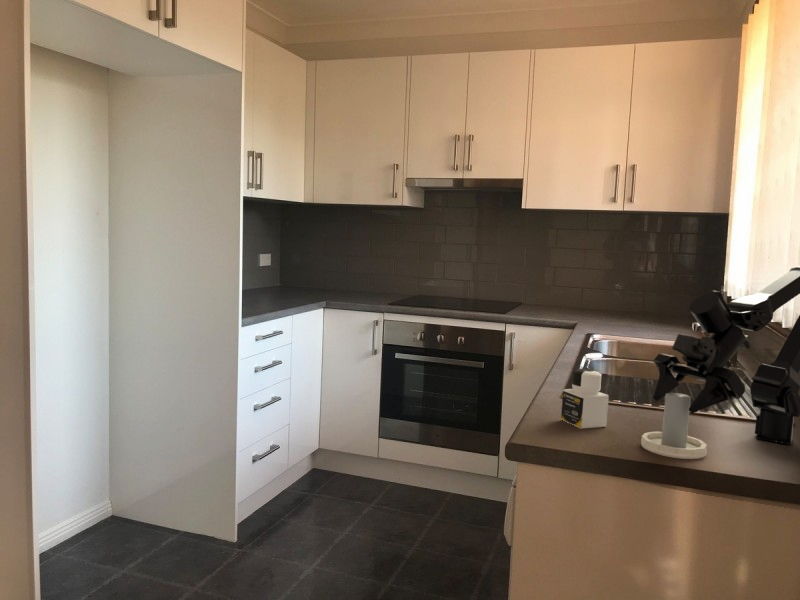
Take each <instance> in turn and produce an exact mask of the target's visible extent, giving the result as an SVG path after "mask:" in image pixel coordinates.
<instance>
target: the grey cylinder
mask: <svg viewBox="0 0 800 600" xmlns="http://www.w3.org/2000/svg"><path fill="white" fill-rule="evenodd" d="M691 399H692V397H691V396H690V395H688V394H684V393H678V392H670V393H666V395H665V396H664V408H663V420H662V428H661V429H662V431H661V432H662V440H661V444H662V445H666V446H671V447H676V448H686V444H687V436H688V430H689V423H690V422H689V420H690V411H689V408H690V406H691V401H692V400H691Z"/></svg>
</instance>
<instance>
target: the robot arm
mask: <svg viewBox="0 0 800 600" xmlns="http://www.w3.org/2000/svg"><path fill="white" fill-rule="evenodd" d="M798 295H800V265H797V266H793V267H791V268H790V269H789V271H788V272H787V273H786V274H784V275H783V276H781V277H779V278H778V279H776V280H775V281H773V282H772V283H771V284H768V285H767V286H765V287H764V288H763V289H761V290H760V291H758V292H757V293H754V294H750V295H745V296H741V297H739V298H736V299H733V300H731V301H730V302H728V303H726V300H725V299H724V296H723V294H722V292H721V291H719V290H718V291H717V290H710V292H709V293H707V294H703V295H701V296H699V297H697V298H696V299H693V301H691V303H690V305H689V311H690V313H691V314H692V316H693V317H694V319H695V320H696V322H697V323H698V325H699V326H700V328H701V330H702V331H703V332H704V333H707V334H710V335H709V336H708V337H707V336H702V337H701V338H698V337H694V336H692V335H691V336H690V335H688V334H687V335H685V334H681V333H678V334H677V336H676V337H675V341H674V343H673V345H672V347H671V349H672V350H674V351H676V352H678V353H680V354H681V355H683V356H682V357H681V359H682V360H683V361H684V362H686V365H685V364H682V363H681V361H679V359H678V358H677V356H676V355H670V354H667V353H658V354H657V355H656V357H655V358H654V359H653V363H654V364H655V367H656V369H657V370H658V373H659V375H658V380H657V384H656V387H655V389H654V393H653V395H652V400H653V401H654V402H659V401H661V400H662V399H663V398H665V395H666V393H672V391H674V390H675V389H676V388H677V387H679V386H680V382H682V381H683V380H684V379H685V378H686V377H689V378H693V379H697V380H698V381H702V382H705V383H704V386H703V388H702V390H701V391H700V392H699V393H698V394H697V396H696V397H695V399H694V400H693V401H692V403H690V408H689V414H690V413H691V414H695V413H697V412H700V411H702V410H704V409H706V408H710V407H711V406H714V405H717V404H720V403H723V402H727V401H729V402H731V401H732V400H733V399H734V400H740V399H741V397H742V396H743V395H744V394H745V393H746V392H745V391H746V386H745V384H744V382H743V380H741V378H740V376H739V375H738V373H737V372H736V370H735V369H731V366H732V363H731V362H730V360H731V359H732V357H733V356H734V355H735V354H736V352H737V351H738V350H739V349H745V350H750V349H751V342H750V336H749V335H747V334H746V335H745V333H744V331H743V330H746V331H751V332H760V331H762V330H763V329H764V328H766V327H767V325H769V324H770V323H771V322H772V320H773V318H774V313H775V312H776V311H777V310H778V309H780V308H782V306H784V305H786V304H787V303H788V302H790V301H791V300H793V299H794V298H796V297H797V296H798ZM799 373H800V314H799V315H798V317H797V319H796V321H795V322H794V324H793V327H792V328H791V329H790V331H789V333H788V335H787V337H786V339H785V341H784V342H783V344H782V347H781V349H779V352H778V354H777V356H776V357H775V359H774V361H773V362H771V363H770V364H765V363H761V364H760V365H759V366H758V368H757V369H756V373H755V374H754V376H752V378H751V381H752V382H751V383H750V386H749V391H750V397H751V404H752V407H753V408H759V410H760V411H759V413H757V415H756V418H755V427H754V434H755V435H756V436H755V439H757V438H758V439H757V440H761V439H764V440H763V441H767V440H770V441H769V442H772V441H777V442H783V443H788V444H791V445H792V443H793V439H794V437H793V430H794V419H795V418H800V395H799V391H800V375H799ZM792 438H793V439H792ZM777 442H776V443H777ZM791 442H792V443H791ZM783 443H782V444H783ZM788 444H787V445H788Z"/></svg>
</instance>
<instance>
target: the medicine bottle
mask: <svg viewBox="0 0 800 600" xmlns="http://www.w3.org/2000/svg"><path fill="white" fill-rule="evenodd" d="M602 376H603V375H602V374H601V372H599V371H598V370H594V369H588V368H578V369H575V370H574V371H573V372H572V383H571V384H572V385H571V388H565V389H563V390H562V400H561V401H562V403H561V412H560V414H561V415H560V421H562V420H563V421H562V422H564V421H565V422H564V423H566V422H567V424H569V423H570V424H569V425H571V424H572V425H571V426H573V425H574V427H575V428H578V429H594V428H603V427H604V428H605V427H607V420H608V409H609V394H606V393H603V392H600V391H601V384H602Z"/></svg>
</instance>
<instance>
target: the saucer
mask: <svg viewBox="0 0 800 600" xmlns="http://www.w3.org/2000/svg"><path fill="white" fill-rule="evenodd" d="M640 440H641V442H640V445H641V447H642V448H643V449H644V450H646V451H647V452H650V453H652V454H655V455H656V454H657V455H659V456H663V457H669V458H673V459H679V460H680V459H684V460H698V459H703V458H705V457H706V456H707V453H708V452H707V446H708V445H707V443H705V442H704V441H703V440H701V439H699V438H696V437H693V436H690V435H687V444H686V448H676V447H671V446H666V445H662V444H661V440H662V431H649V432H645V433H643V435H641V439H640Z"/></svg>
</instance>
